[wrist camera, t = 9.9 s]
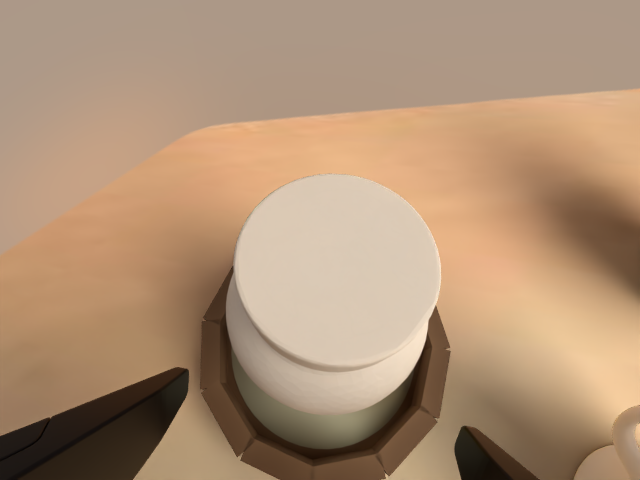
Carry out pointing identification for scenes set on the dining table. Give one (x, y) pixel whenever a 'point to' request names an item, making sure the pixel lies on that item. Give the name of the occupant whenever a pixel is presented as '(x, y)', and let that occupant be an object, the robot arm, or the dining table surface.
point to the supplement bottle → (332, 293)
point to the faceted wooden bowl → (312, 429)
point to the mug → (615, 452)
